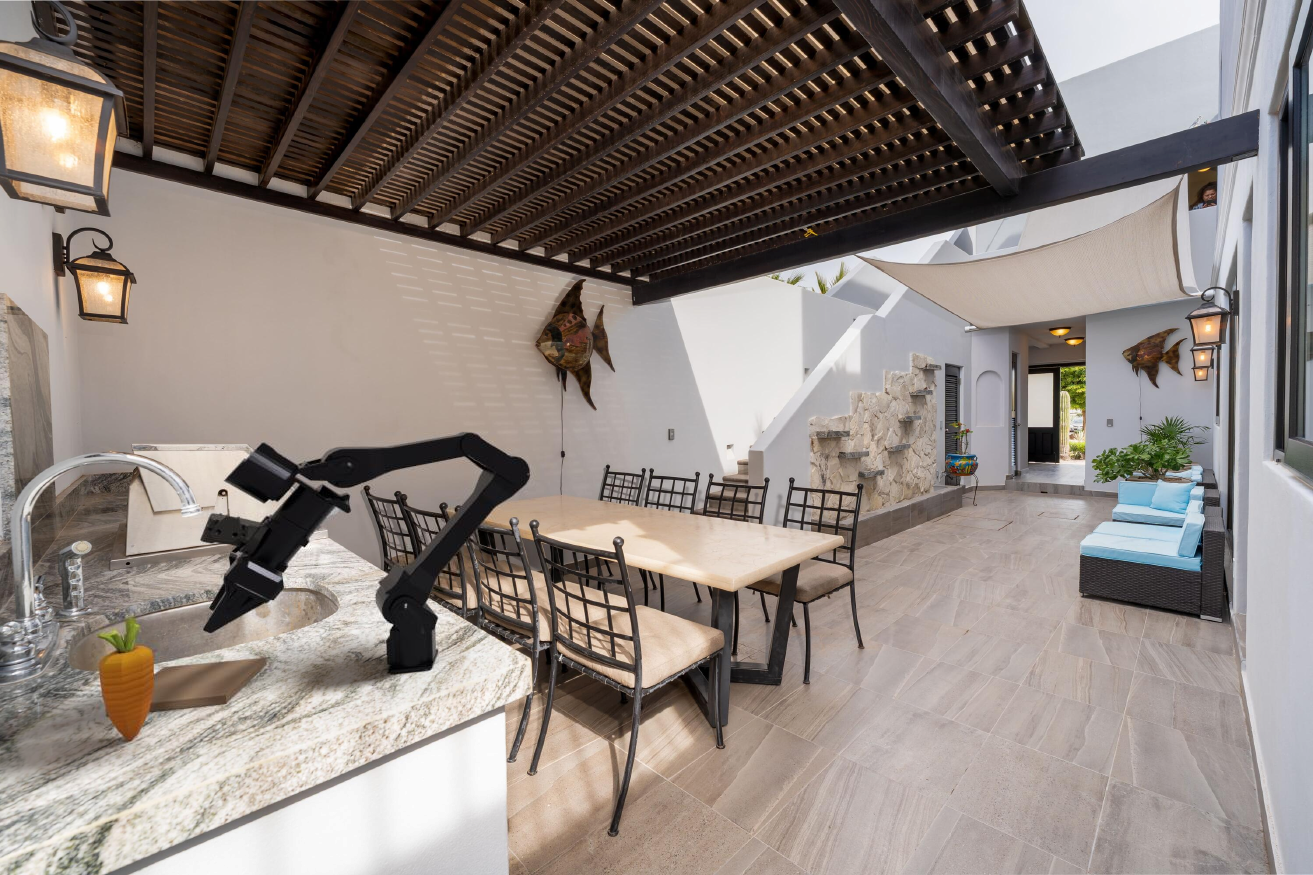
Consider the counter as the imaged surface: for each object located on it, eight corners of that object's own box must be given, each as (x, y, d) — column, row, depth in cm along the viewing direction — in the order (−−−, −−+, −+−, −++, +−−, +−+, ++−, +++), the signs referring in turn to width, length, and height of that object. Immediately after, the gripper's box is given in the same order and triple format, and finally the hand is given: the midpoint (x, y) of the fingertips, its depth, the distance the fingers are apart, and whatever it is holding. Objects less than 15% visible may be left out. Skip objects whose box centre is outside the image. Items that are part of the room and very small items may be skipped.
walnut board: (266, 664, 89) (266, 657, 89) (226, 703, 77) (226, 694, 77) (164, 674, 86) (164, 666, 86) (106, 716, 74) (105, 707, 74)
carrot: (124, 754, 66) (116, 630, 65) (91, 749, 67) (84, 627, 66) (168, 730, 71) (162, 614, 70) (137, 726, 72) (131, 612, 71)
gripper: (241, 482, 83) (156, 573, 78) (236, 498, 67) (129, 613, 62) (311, 522, 88) (235, 610, 83) (320, 545, 73) (228, 655, 68)
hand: (209, 620), depth 74 cm, fingers open, 9 cm apart
